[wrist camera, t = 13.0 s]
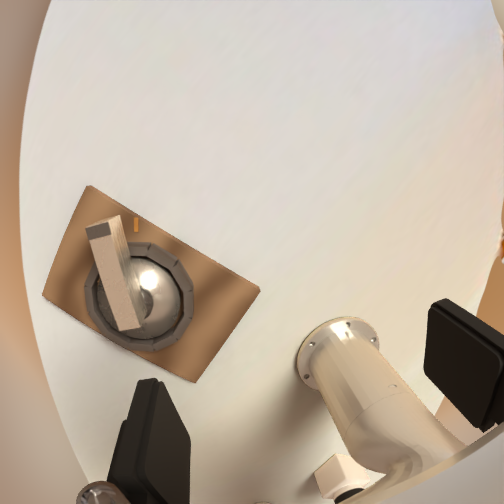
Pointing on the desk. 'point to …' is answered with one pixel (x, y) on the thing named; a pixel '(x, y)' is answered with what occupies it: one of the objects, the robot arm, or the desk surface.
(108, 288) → the dial
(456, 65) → the desk surface
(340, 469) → the medicine bottle
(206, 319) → the dial base
